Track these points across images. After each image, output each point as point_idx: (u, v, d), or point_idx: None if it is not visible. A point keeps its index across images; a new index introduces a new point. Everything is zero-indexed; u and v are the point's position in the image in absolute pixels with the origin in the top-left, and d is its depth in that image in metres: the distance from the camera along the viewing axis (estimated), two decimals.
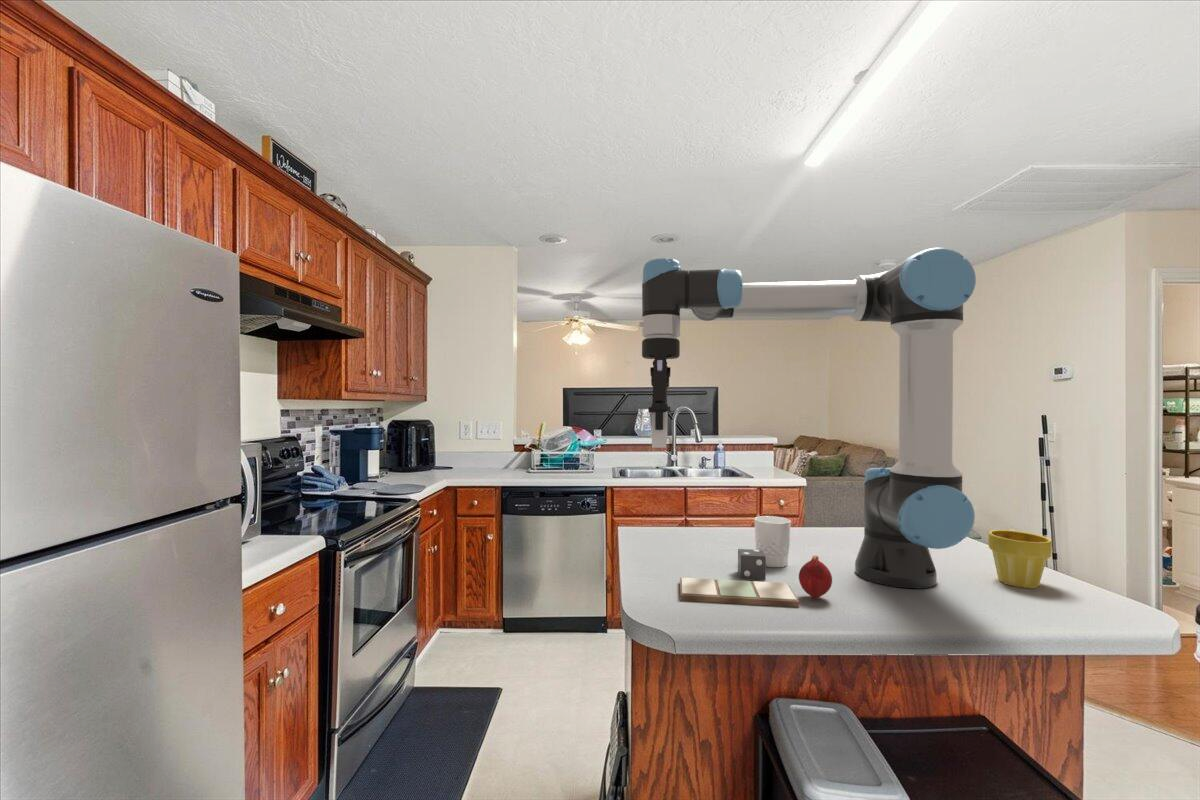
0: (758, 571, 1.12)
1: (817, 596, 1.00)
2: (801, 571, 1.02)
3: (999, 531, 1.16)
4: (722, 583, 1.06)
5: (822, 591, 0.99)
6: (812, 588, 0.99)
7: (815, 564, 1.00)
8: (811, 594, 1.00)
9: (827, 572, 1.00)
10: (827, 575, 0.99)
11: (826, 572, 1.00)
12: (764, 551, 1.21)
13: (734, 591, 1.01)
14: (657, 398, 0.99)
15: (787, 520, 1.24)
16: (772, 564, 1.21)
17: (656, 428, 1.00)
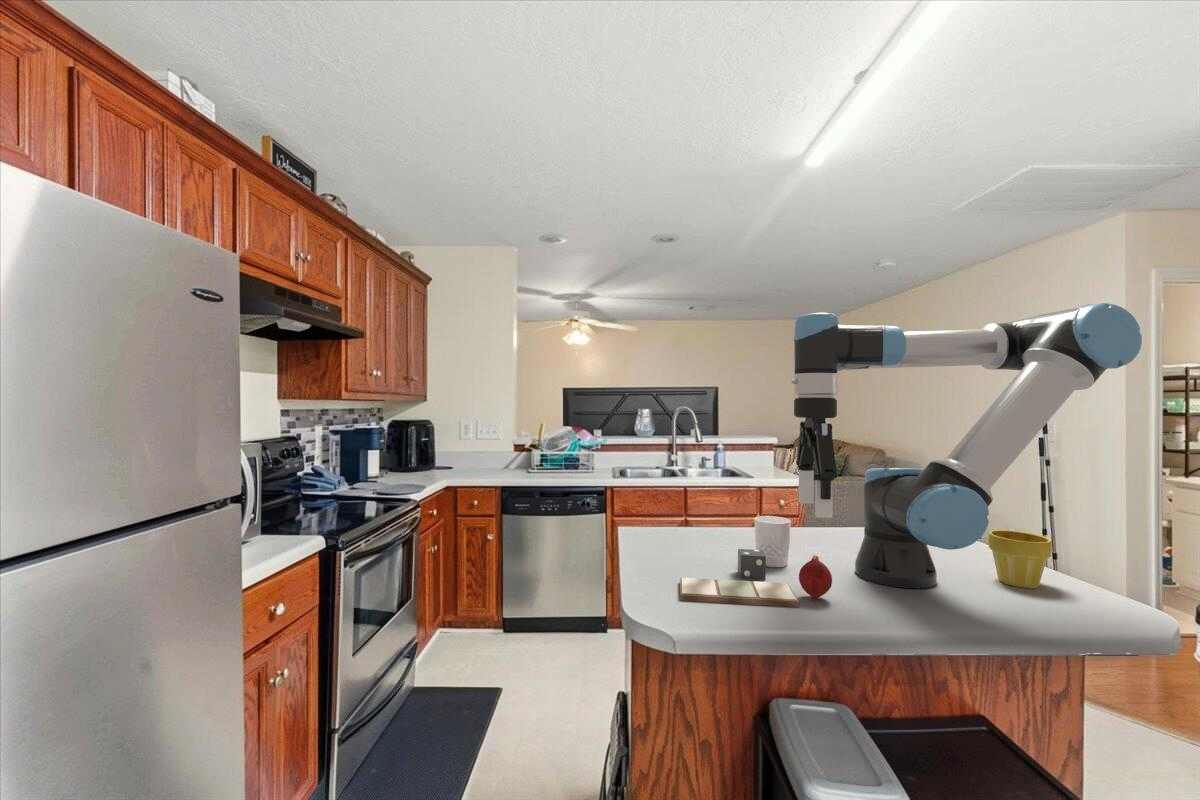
0: (758, 571, 1.12)
1: (817, 596, 1.00)
2: (801, 571, 1.02)
3: (999, 531, 1.16)
4: (722, 583, 1.06)
5: (822, 591, 0.99)
6: (812, 588, 0.99)
7: (815, 564, 1.00)
8: (811, 594, 1.00)
9: (827, 572, 1.00)
10: (827, 575, 0.99)
11: (826, 572, 1.00)
12: (764, 551, 1.21)
13: (734, 591, 1.01)
14: (827, 467, 0.92)
15: (787, 520, 1.24)
16: (772, 564, 1.21)
17: (823, 497, 0.94)
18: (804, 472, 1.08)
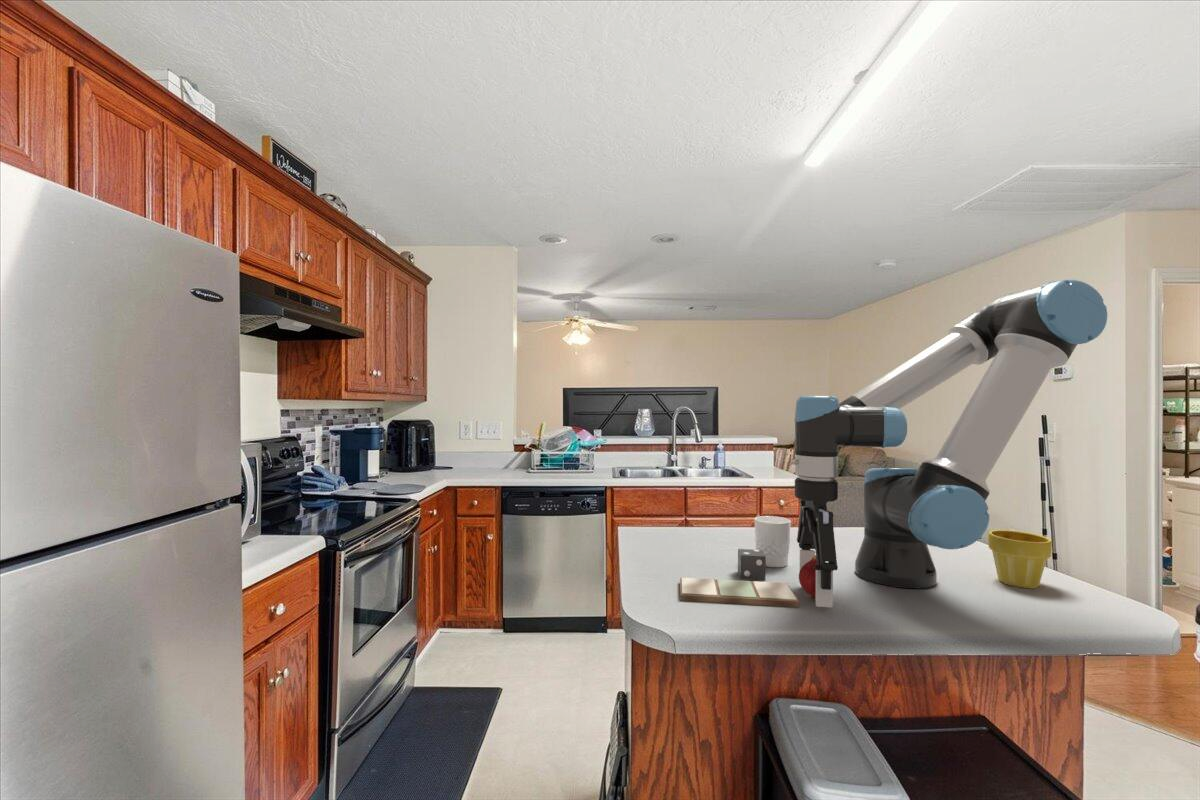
0: (758, 571, 1.12)
1: None
2: (801, 571, 1.02)
3: (999, 531, 1.16)
4: (722, 583, 1.06)
5: None
6: (812, 588, 0.99)
7: (815, 564, 1.00)
8: (811, 594, 1.00)
9: None
10: None
11: None
12: (764, 551, 1.21)
13: (734, 591, 1.01)
14: (827, 559, 0.93)
15: (787, 520, 1.24)
16: (772, 564, 1.21)
17: (823, 588, 0.94)
18: (805, 552, 1.07)
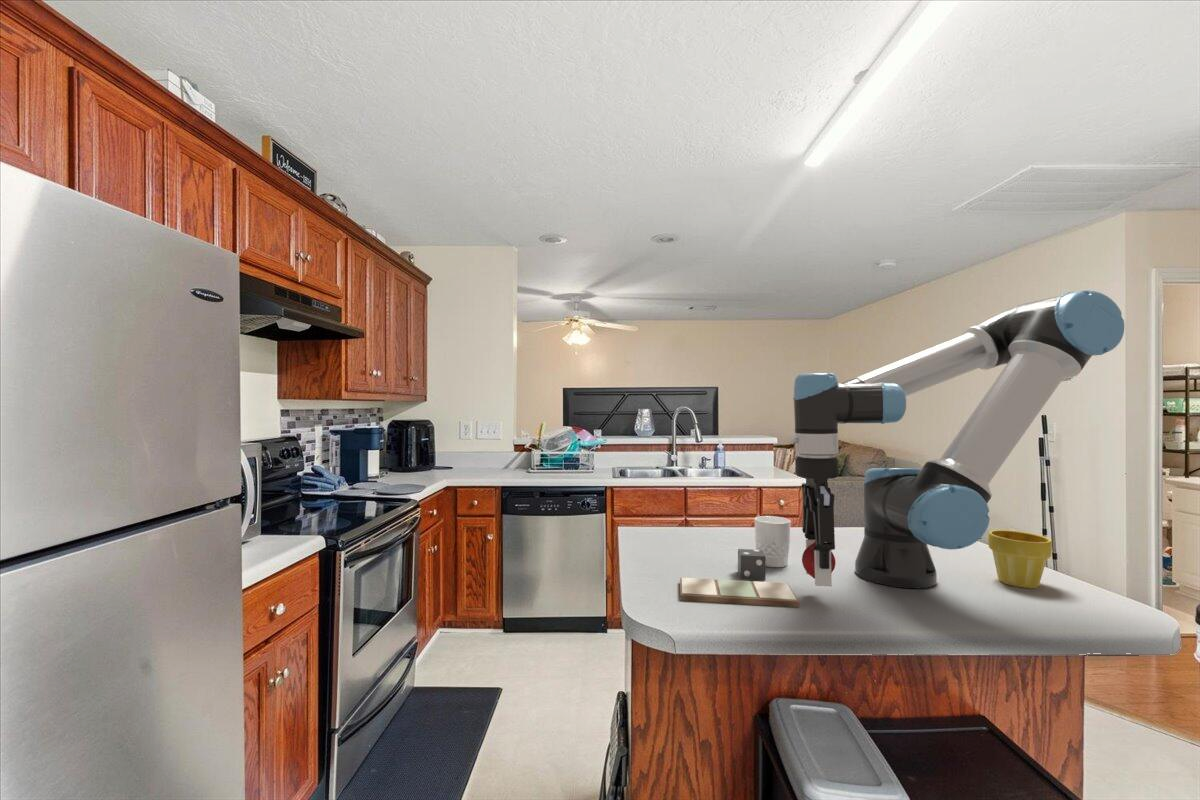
0: (758, 571, 1.12)
1: None
2: (804, 554, 1.02)
3: (999, 531, 1.16)
4: (722, 583, 1.06)
5: None
6: None
7: None
8: None
9: None
10: None
11: None
12: (764, 551, 1.21)
13: (734, 591, 1.01)
14: (825, 540, 0.95)
15: (787, 520, 1.24)
16: (772, 564, 1.21)
17: (822, 567, 0.97)
18: (811, 542, 1.04)
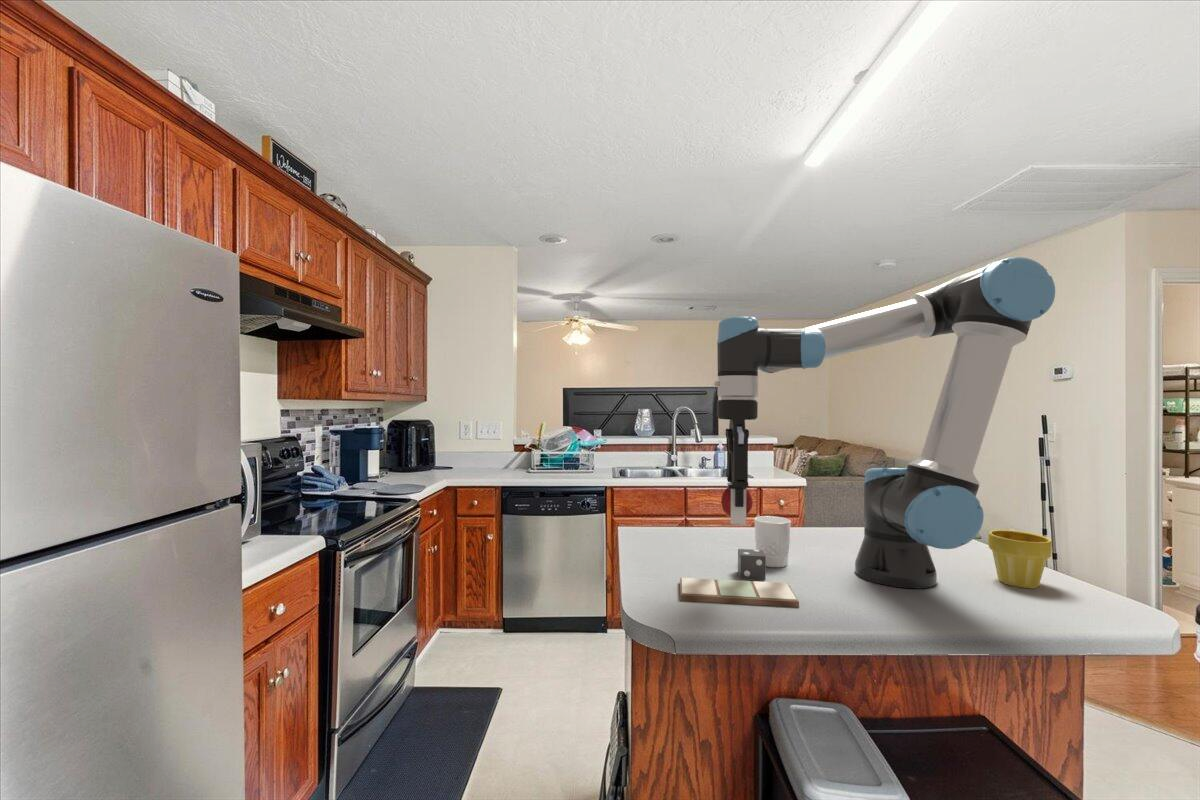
0: (758, 571, 1.12)
1: None
2: (723, 494, 1.04)
3: (999, 531, 1.16)
4: (722, 583, 1.06)
5: None
6: None
7: None
8: None
9: (747, 494, 1.02)
10: (747, 496, 1.01)
11: (746, 493, 1.02)
12: (764, 551, 1.21)
13: (734, 591, 1.01)
14: (739, 477, 0.97)
15: (787, 520, 1.24)
16: (772, 564, 1.21)
17: (736, 505, 0.99)
18: (732, 485, 1.06)
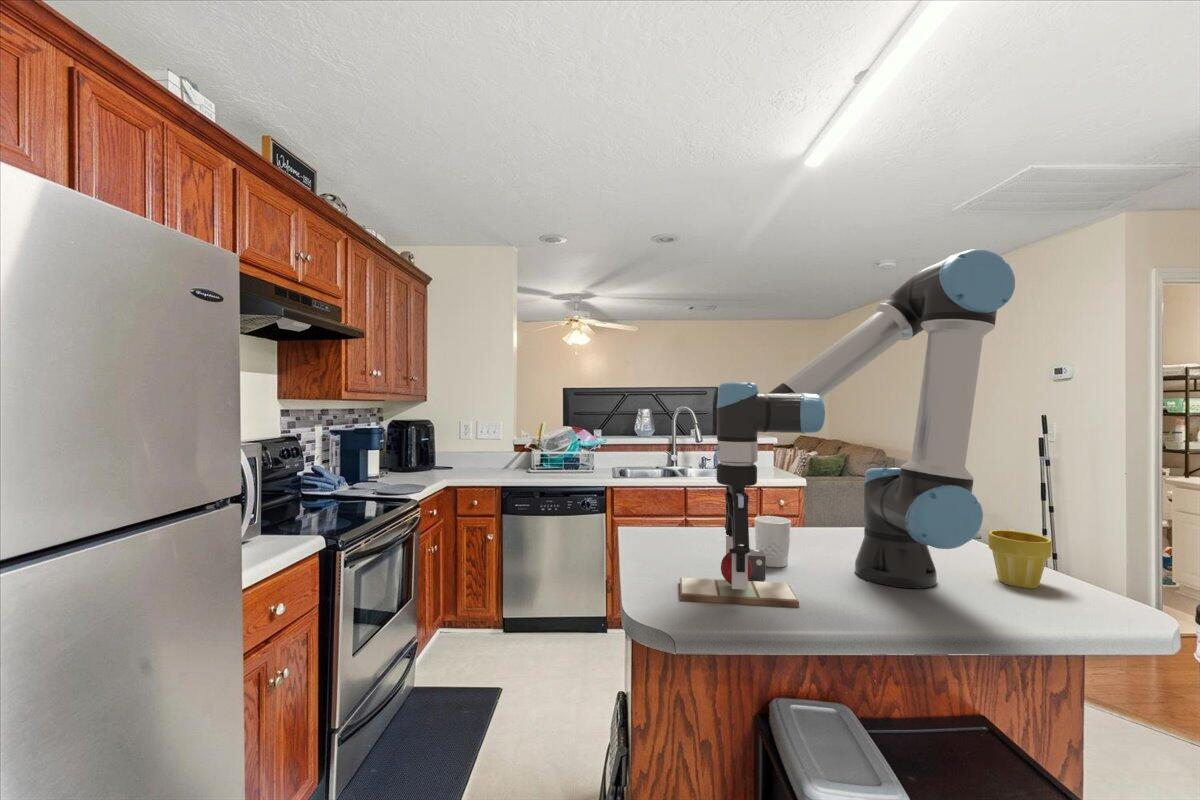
0: (758, 571, 1.12)
1: None
2: (722, 561, 1.04)
3: (999, 531, 1.16)
4: (722, 583, 1.06)
5: None
6: (731, 578, 1.01)
7: None
8: (731, 583, 1.02)
9: None
10: None
11: None
12: (764, 551, 1.21)
13: (734, 591, 1.01)
14: (740, 542, 0.95)
15: (787, 520, 1.24)
16: (772, 564, 1.21)
17: (738, 570, 0.96)
18: (731, 538, 1.09)
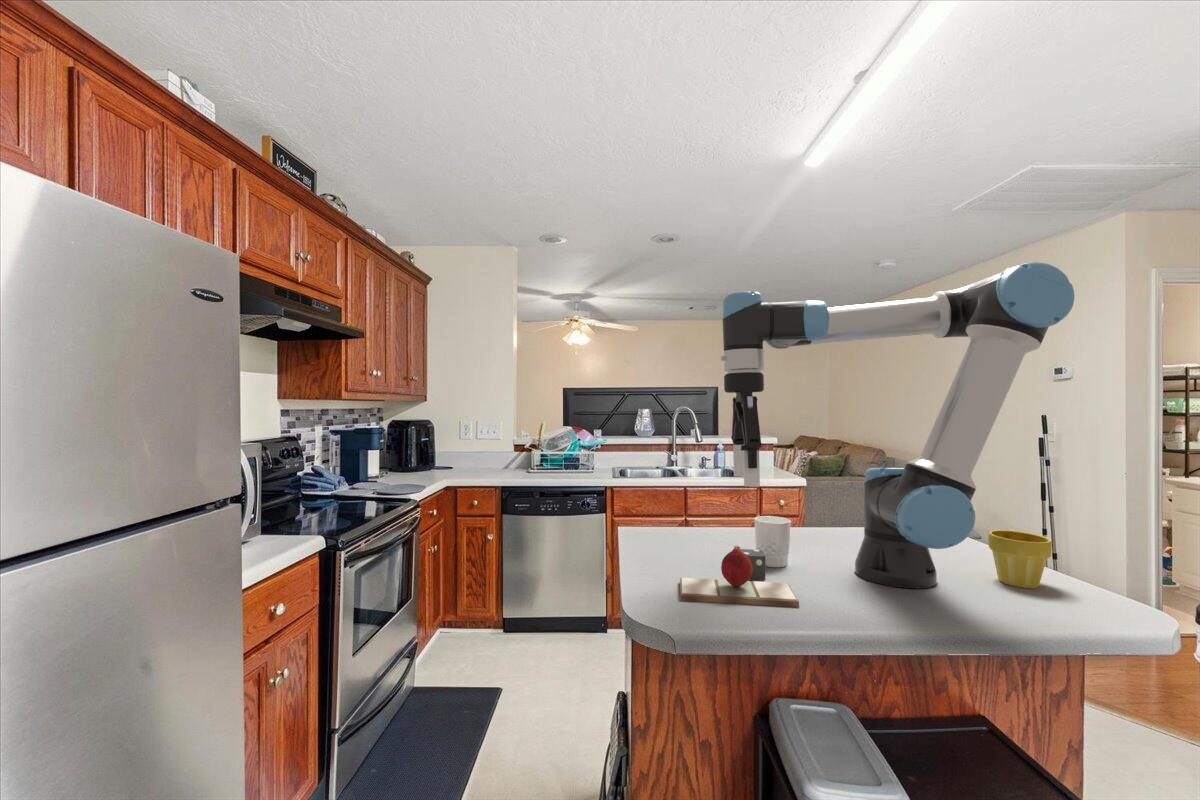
0: (758, 571, 1.12)
1: (737, 585, 1.02)
2: (723, 561, 1.04)
3: (999, 531, 1.16)
4: (722, 583, 1.06)
5: (741, 580, 1.01)
6: (731, 578, 1.01)
7: (736, 554, 1.02)
8: (731, 583, 1.02)
9: (747, 562, 1.02)
10: (747, 565, 1.01)
11: (746, 561, 1.02)
12: (764, 551, 1.21)
13: (734, 591, 1.01)
14: (752, 437, 0.97)
15: (787, 520, 1.24)
16: (772, 564, 1.21)
17: (750, 467, 0.98)
18: (738, 446, 1.13)
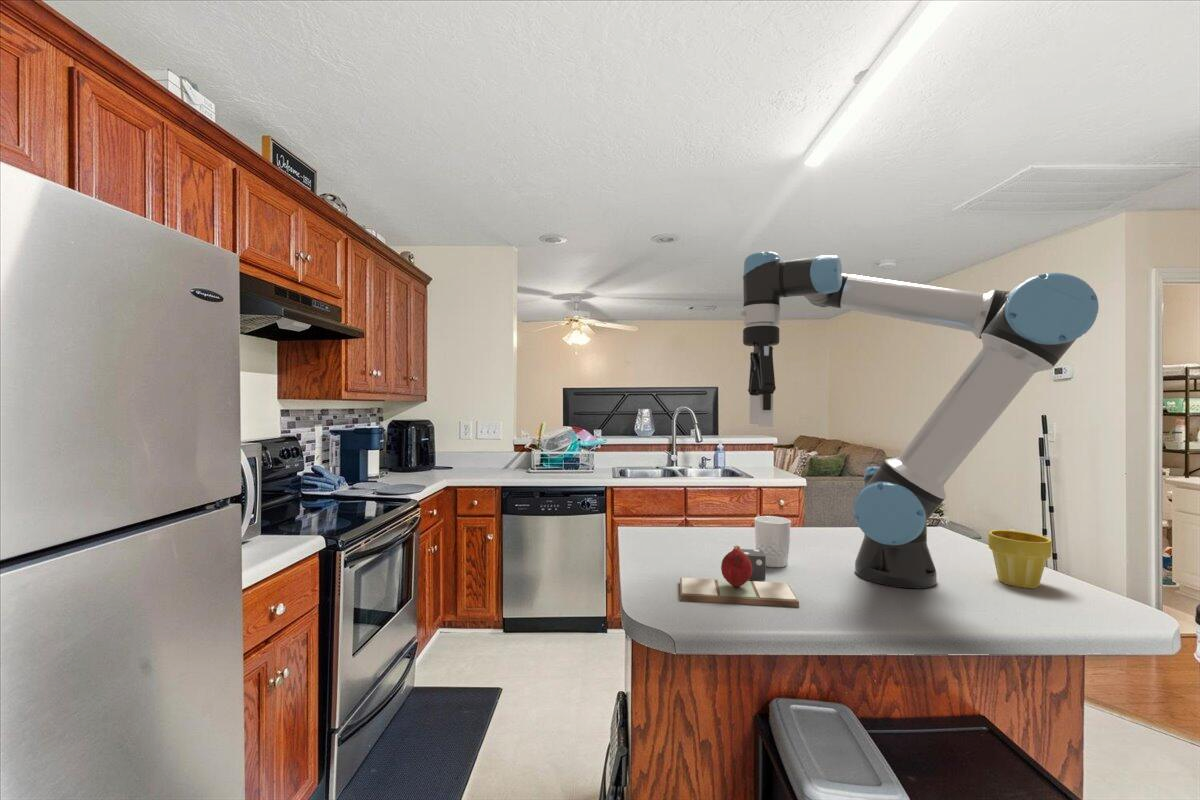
0: (758, 571, 1.12)
1: (737, 585, 1.02)
2: (723, 561, 1.04)
3: (999, 531, 1.16)
4: (722, 583, 1.06)
5: (741, 580, 1.01)
6: (731, 578, 1.01)
7: (736, 554, 1.02)
8: (731, 583, 1.02)
9: (747, 562, 1.02)
10: (747, 564, 1.01)
11: (746, 561, 1.02)
12: (764, 551, 1.21)
13: (734, 591, 1.01)
14: (767, 381, 1.07)
15: (787, 520, 1.24)
16: (772, 564, 1.21)
17: (764, 408, 1.09)
18: (754, 396, 1.23)
